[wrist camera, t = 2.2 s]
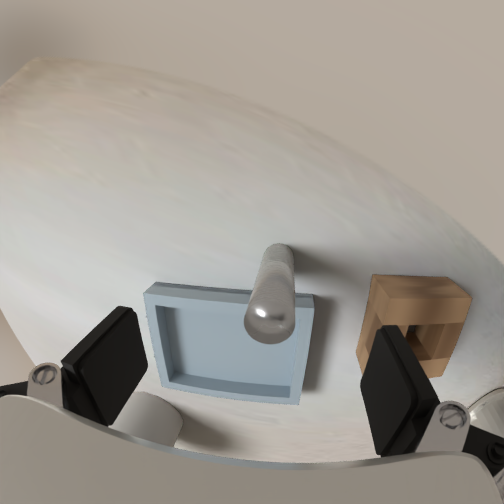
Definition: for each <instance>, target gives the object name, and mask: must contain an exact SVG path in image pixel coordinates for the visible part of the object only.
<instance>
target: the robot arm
mask: <svg viewBox="0 0 504 504" xmlns="http://www.w3.org/2000/svg"><path fill="white" fill-rule="evenodd" d="M61 363H62V365H63V367H62V368H61V369H60V368H59V366H58V365H56V364H54V363H43V364H40V365H38V366H36V367H35V368H34V369H33V370H32V371H31V372H30V374H29V379H28V381H25V382H20V383H15V384H10V385H4V386H0V504H504V388H503V389H497V390H495V391H493V392H491V393H489V394H487V395H486V396H484V397H482V398H481V399H480V400H478V401H477V402H476V403H474V404H473V405H472V406H471V407H470V408H469V409H467V408H466V407H465V406H464V405H462V404H460V403H458V402H455V401H445V402H442V403H440V401H439V399H438V396H437V394H436V392H435V390H434V389H433V387H432V385H431V383H430V381H429V379H428V377H427V375H426V374H425V372H424V370H423V368H422V366H421V365H420V363H419V361H418V359H417V357H416V356H415V354H414V352H413V351H412V349H411V347H410V345H409V344H408V342H407V340H406V339H405V337H404V335H403V334H402V332H401V330H400V329H399V327H398V326H397V325H383V326H382V327H381V329H377V331H376V334H375V338H374V341H373V345H372V348H371V351H370V355H369V358H368V361H367V364H366V367H365V370H364V373H363V376H362V379H361V383H360V388H361V392H362V396H363V400H364V404H365V408H366V412H367V416H368V420H369V424H370V428H371V433H372V437H373V441H374V446H375V451H376V454H377V455H381V458H374V459H365V460H355V461H343V462H326V463H280V462H263V461H251V460H241V459H233V458H226V457H219V456H213V455H207V454H202V453H196V452H191V451H187V450H182V449H178V448H174V447H170V446H166V445H162V444H158V443H155V442H151V441H148V440H144V439H141V438H138V437H135V436H132V435H129V434H126V433H123V432H120V431H117V430H114V429H112V428H109V427H108V426H111V425H113V423H114V422H115V420H116V419H117V417H118V415H119V414H120V412H121V411H122V409H123V407H124V406H125V404H126V403H127V401H128V399H129V398H130V396H131V395H132V393H133V391H134V390H135V388H136V387H137V385H138V383H139V382H140V380H141V379H142V377H143V376H144V374H145V372H146V371H147V368H148V362H147V358H146V354H145V350H144V346H143V341H142V337H141V332H140V328H139V323H138V318H137V314H136V312H134V311H133V309H132V308H129V307H123V306H118V307H116V308H115V309H114V310H113V311H112V312H111V313H110V314H109V315H108V316H107V317H106V318H105V319H103V320H102V321H101V322H100V323H99V324H98V325H97V326H96V327H95V328H94V329H93V330H92V331H91V332H90V333H89V334H88V335H87V336H86V337H85V338H83V339H82V340H81V341H80V342H79V343H78V344H77V345H76V346H75V347H74V348H73V349H72V350H71V351H70V352H69V353H68V354H67V355H66V356H65V357H64V358H63V359H62V360H61Z"/></svg>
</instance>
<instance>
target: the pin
mask: <svg viewBox="0 0 504 504" xmlns="http://www.w3.org/2000/svg"><path fill="white" fill-rule="evenodd" d="M244 327H245V330H246V332H247V333H248V335H249V336H250V337H251V338H253V339H254V340H256V341H258V342H260V343H263V344H278V343H281V342H283V341H285V340H287V339H288V338H289V337H290V336H291V335H292V333H293V332H294V329H295V282H294V256H293V253H292V251H291V249H290V248H289V247H288V246H286V245H284V244H280V243H277V244H273V245H271V246H269V247H268V248H267V249H266V251H265V253H264V256H263V259H262V262H261V266H260V269H259V272H258V275H257V278H256V282H255V285H254V288H253V291H252V294H251V297H250V301H249V304H248V307H247V310H246V313H245V316H244Z"/></svg>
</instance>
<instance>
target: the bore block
mask: <svg viewBox="0 0 504 504" xmlns="http://www.w3.org/2000/svg"><path fill="white" fill-rule="evenodd" d="M471 301H472V297H471V296H470V295H468V294H467V293H466V292H465V291H464V290H462V289H461V288H460V287H459V286H458V285H456V284H455V283H454V282H453V281H451V280H450V279H449V278H448V277H426V276H397V275H372V281H371V286H370V292H369V297H368V302H367V307H366V312H365V316H364V321H363V325H362V329H361V334H360V338H359V342H358V346H357V349H356V355H357V358H358V361H359V365H360V368H361V371H362V375H363V373H364V370H365V367H366V364H367V361H368V358H369V355H370V351H371V348H372V345H373V341H374V338H375V334H376V331H377V329H381V327H382V326H383V325H397V326H398V327H399V329H400V330H401V332H402V334H403V335H404V337H405V339H406V340H407V342H408V344H409V345H410V347H411V349H412V351H413V352H414V354H415V356H416V357H417V359H418V361H419V363H420V365H421V366H422V368H423V370H424V372H425V374H426V375H427V377H428V378H433V377H440V376H442V375H443V373H444V370H445V368H446V366H447V364H448V362H449V360H450V357H451V355H452V353H453V350H454V348H455V346H456V343H457V341H458V338H459V335H460V333H461V330H462V327H463V325H464V322H465V319H466V316H467V313H468V310H469V307H470V304H471ZM409 325H416V327H415V331H414V332H407V330H408V327H409Z"/></svg>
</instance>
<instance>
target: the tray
mask: <svg viewBox="0 0 504 504" xmlns="http://www.w3.org/2000/svg"><path fill="white" fill-rule="evenodd" d="M251 294H252V291H250V290H236V289H224V288H212V287H201V286H190V285H180V284H170V283H160V282H155V283H154V284H153V285H152V286H151V287H150V288H148V289H147V290H146V291H145V292H144V293H143V295H144V301H145V307H146V314H147V319H148V325H149V330H150V336H151V341H152V346H153V350H154V355H155V359H156V364H157V368H158V372H159V377H160V381H161V385H162V387H166V388H171V389H175V390H180V391H185V392H190V393H195V394H201V395H207V396H213V397H219V398H226V399H234V400H242V401H251V402H261V403H274V404H290V405H299V401H300V396H301V391H302V385H303V380H304V375H305V369H306V363H307V357H308V351H309V345H310V338H311V331H312V324H313V317H314V309H315V307H314V301H313V295H312V294H298V293H295V329H294V332H293V333H292V335H291V336H290V337H289V338H288V339H287V340H285V341H283V342H281V343H278V344H263V343H260V342H258V341H256V340H254V339H253V338H251V337H250V336H249V335H248V333H247V332H246V330H245V327H244V316H245V313H246V310H247V307H248V304H249V301H250V297H251Z"/></svg>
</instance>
